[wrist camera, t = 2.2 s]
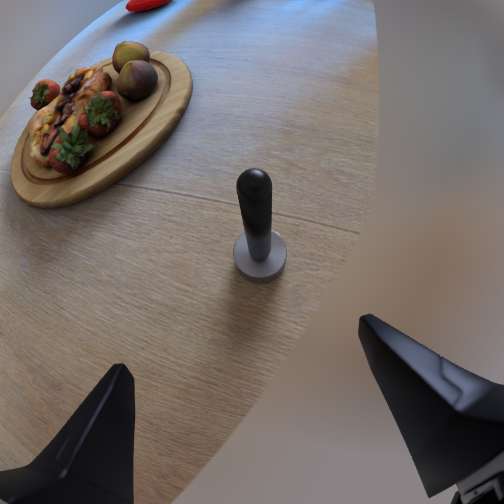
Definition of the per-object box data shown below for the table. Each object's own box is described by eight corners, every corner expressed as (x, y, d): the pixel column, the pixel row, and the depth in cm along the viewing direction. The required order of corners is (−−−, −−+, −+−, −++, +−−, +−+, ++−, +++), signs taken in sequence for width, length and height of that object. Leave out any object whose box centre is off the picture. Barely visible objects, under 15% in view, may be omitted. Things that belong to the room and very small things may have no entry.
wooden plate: (6, 152, 35) (-18, 128, 27) (129, 47, 42) (117, 17, 34) (52, 263, 27) (5, 237, 19) (242, 91, 33) (236, 40, 26)
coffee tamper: (294, 253, 26) (315, 166, 13) (267, 293, 25) (265, 234, 12) (254, 228, 27) (243, 130, 14) (226, 265, 26) (189, 188, 13)
